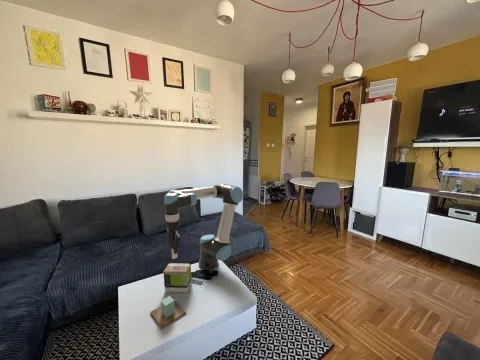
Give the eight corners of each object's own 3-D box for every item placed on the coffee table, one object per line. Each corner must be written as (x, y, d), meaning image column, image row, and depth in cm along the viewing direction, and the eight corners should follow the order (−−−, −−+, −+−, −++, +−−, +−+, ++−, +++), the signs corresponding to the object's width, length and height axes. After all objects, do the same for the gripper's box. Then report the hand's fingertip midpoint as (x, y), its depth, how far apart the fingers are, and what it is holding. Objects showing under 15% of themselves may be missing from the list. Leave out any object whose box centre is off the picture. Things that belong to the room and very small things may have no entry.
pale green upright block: (170, 307, 120) (169, 295, 118) (175, 312, 116) (174, 300, 115) (161, 312, 116) (160, 300, 114) (166, 318, 112) (165, 305, 111)
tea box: (192, 282, 142) (191, 263, 139) (187, 293, 132) (186, 272, 130) (170, 282, 143) (169, 262, 140) (164, 292, 133) (162, 271, 130)
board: (173, 300, 126) (173, 298, 126) (185, 313, 117) (185, 311, 116) (150, 313, 117) (150, 312, 116) (161, 329, 107) (161, 327, 107)
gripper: (161, 219, 122) (163, 256, 126) (171, 225, 113) (174, 264, 117) (173, 215, 127) (175, 251, 132) (184, 221, 118) (186, 259, 122)
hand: (174, 257), depth 124 cm, fingers closed
